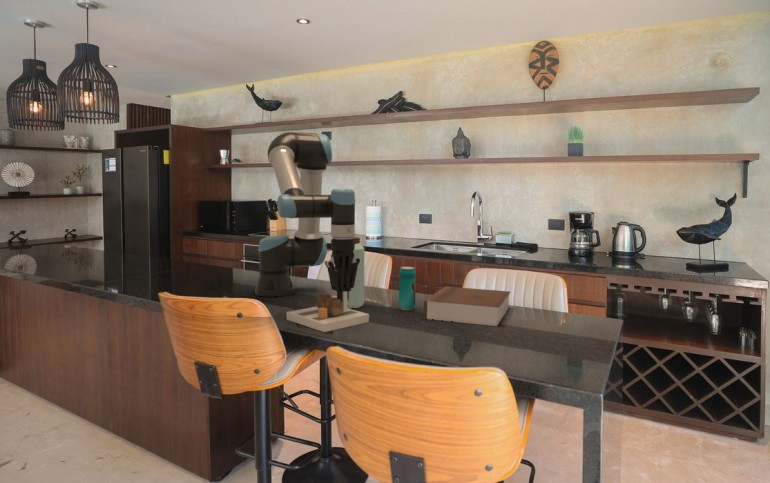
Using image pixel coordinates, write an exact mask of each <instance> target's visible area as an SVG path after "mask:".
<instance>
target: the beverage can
mask: <svg viewBox="0 0 770 483" xmlns="http://www.w3.org/2000/svg"><path fill="white" fill-rule="evenodd" d="M399 268H400V269H399V272H398V274H399V275H398V281H399V282H398V285H399V286H398V289H399V290H398V306H399V309H400V310H402V311H406V312H408V311H409V312H410V311H413V310H414V308H415V306H416V277H417V276H416V267H413V266H400V267H399Z"/></svg>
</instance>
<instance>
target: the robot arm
mask: <svg viewBox="0 0 770 483" xmlns="http://www.w3.org/2000/svg"><path fill="white" fill-rule="evenodd" d="M332 149H333V148H332V145H331V140H330V138H329V136H327V135H326V134H323V133H316V132H293V131H288V132H283V133H280V134H279V135H277V136H276V137H275V138H274V139H272V141H271V142H270V144H269V146H268V149H267V158H268V159H267V160H268V162H269V164H270V165H271V166H272V167H273V171H274V174H275V179H276V181H277V184H278V188H279V191H280V192H279V193H280V194H279V195H278V198H277V205H276V206H277V207H276V208H277V213H278V216H279V217H280V218H282V219H283V218H284V219H298V220H297V222H298V223H297V224H298V225H297V227H298V228H297V230H296V231H295V232H294V234H293V237H292V238H290V237H289V235H288V234H279V235H271V236H267V237H264V238H262V239H260V240H259V242H258V243H259V245H258V254H259V255H258V256H259V257H258V258H259V260H258V261H259V263H258V264H259V276H258V278H257V282H256V285H255V289H254V291H255V295H256V296H260V297H268V298H269V297H270V298H273V297H274V298H275V296H278V297H286V296H290V295H292V293H293V294H294V286H293V282H292V280H291V276H290V268H298V267H300V268H301V267H315V266H316V267H317V266H321V265H322V264H323V263H324V264H325V266H326V268H327V269H326V270H327V272H328V273H327V274H328V278H329V283H330V289H331V290H334V291H336V298H337V299H341V312H347V301H348V299H349V291H351V288H354V284H355V278H356V273H357V267H358V264H359V262H360V259H359V258H356V257H355V256H354V252H353V250H354V249H355V240H354V239H353V237H356V236H355V235H356V233H355V231H356V230H355V229H356V228H355V225H356V220H355V219H356V213H355V212H356V208H355V207H356V206H355V205H356V195H355V190H354V189H351V188H347V189H346V188H342V189H341V188H340V189H339V188H333V189H331V191H330V194H322V189H323V188H322V187H323V186H322V185H323V173H324V172H325V171H326V170H327V166H328V165H331V163H332V160H333V150H332ZM297 170H298V171H299V173H298V171H297ZM299 174H300V176H299ZM321 218H322V219H323V218H324V219H325V218H329V219H330V236H331V239H330V250H331V252H332V253H331V255H330V259H328V260H326V256H327V253H328V252H327V250H328V247H327V246H328V245H327V244H328V243H327V239H326V238H325V237H324V236H323V233H322V232H321V231H320V226H321V225H320V223H321ZM325 260H326V261H325ZM285 295H286V296H285Z"/></svg>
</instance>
